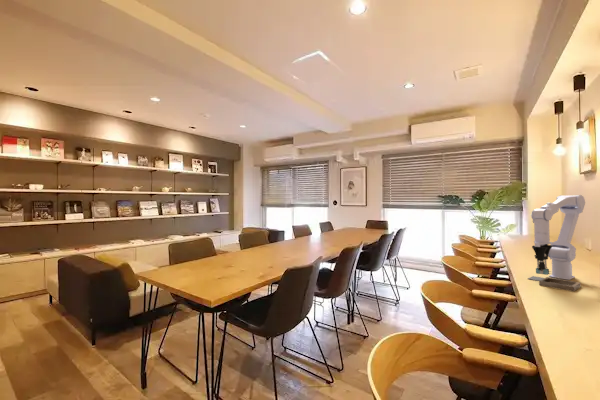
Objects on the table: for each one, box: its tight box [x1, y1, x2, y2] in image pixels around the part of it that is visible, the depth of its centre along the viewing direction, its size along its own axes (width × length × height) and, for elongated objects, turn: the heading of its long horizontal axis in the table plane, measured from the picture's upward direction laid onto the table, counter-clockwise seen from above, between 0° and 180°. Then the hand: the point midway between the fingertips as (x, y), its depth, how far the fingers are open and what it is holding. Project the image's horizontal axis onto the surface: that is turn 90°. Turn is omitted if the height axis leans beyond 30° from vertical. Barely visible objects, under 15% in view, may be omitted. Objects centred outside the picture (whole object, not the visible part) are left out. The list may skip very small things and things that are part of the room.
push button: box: [534, 254, 552, 276], centre depth 141 cm, size 7×5×10 cm
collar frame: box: [538, 277, 582, 292], centre depth 132 cm, size 11×12×2 cm
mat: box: [527, 275, 545, 282], centre depth 143 cm, size 8×7×1 cm
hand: (542, 259), depth 141 cm, fingers closed on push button, 5 cm apart
